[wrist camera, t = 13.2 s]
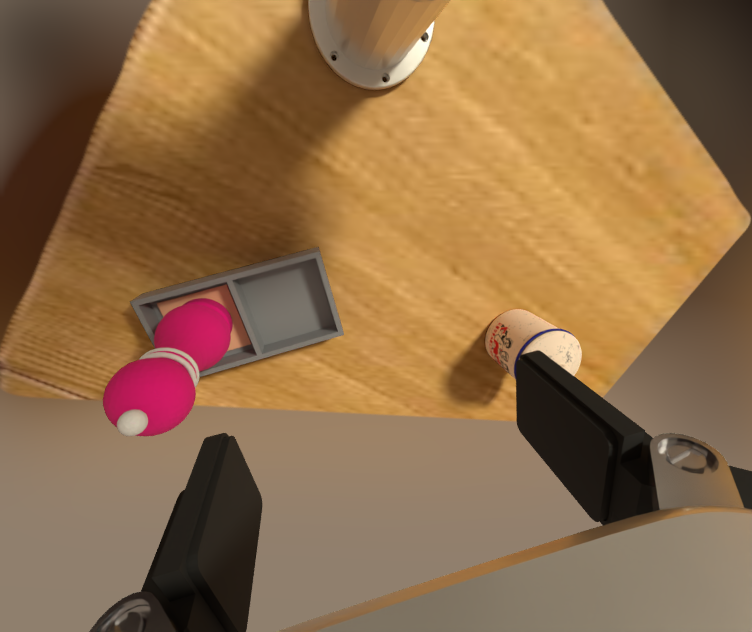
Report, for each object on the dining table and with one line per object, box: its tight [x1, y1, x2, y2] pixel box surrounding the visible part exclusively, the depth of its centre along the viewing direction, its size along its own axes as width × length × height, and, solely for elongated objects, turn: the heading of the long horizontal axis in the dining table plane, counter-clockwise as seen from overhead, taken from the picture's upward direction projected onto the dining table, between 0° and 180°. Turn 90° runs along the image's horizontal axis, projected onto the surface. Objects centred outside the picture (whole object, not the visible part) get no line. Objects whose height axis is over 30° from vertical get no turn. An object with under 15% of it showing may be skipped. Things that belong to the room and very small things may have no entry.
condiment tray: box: [130, 247, 344, 377], centre depth 41 cm, size 11×21×3 cm, turn 103°
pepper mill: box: [103, 298, 233, 436], centre depth 32 cm, size 7×7×20 cm
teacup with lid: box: [485, 309, 582, 379], centre depth 47 cm, size 12×9×12 cm
